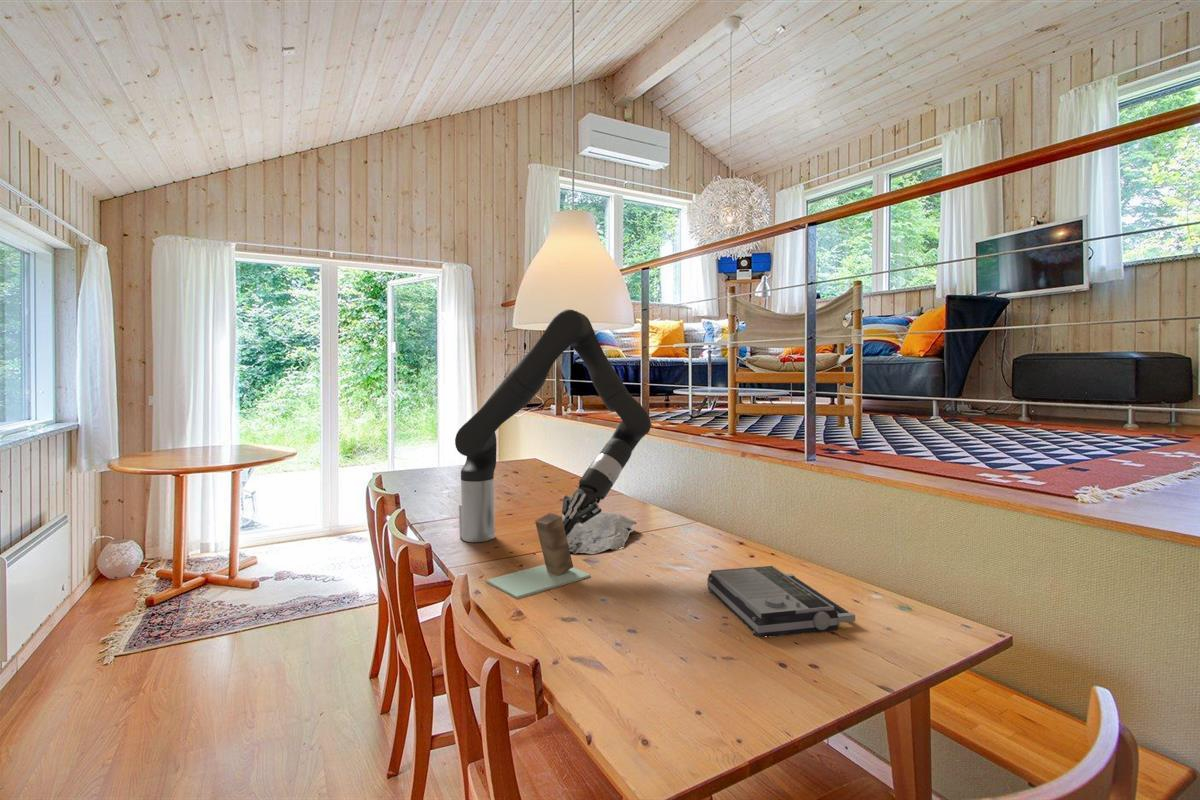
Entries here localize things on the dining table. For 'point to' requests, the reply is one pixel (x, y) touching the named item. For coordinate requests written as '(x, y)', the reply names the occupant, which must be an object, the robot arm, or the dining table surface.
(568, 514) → the robot arm
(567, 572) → the mat
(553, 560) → the walnut block
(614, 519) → the stone fragment
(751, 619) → the radio
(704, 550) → the dining table surface
